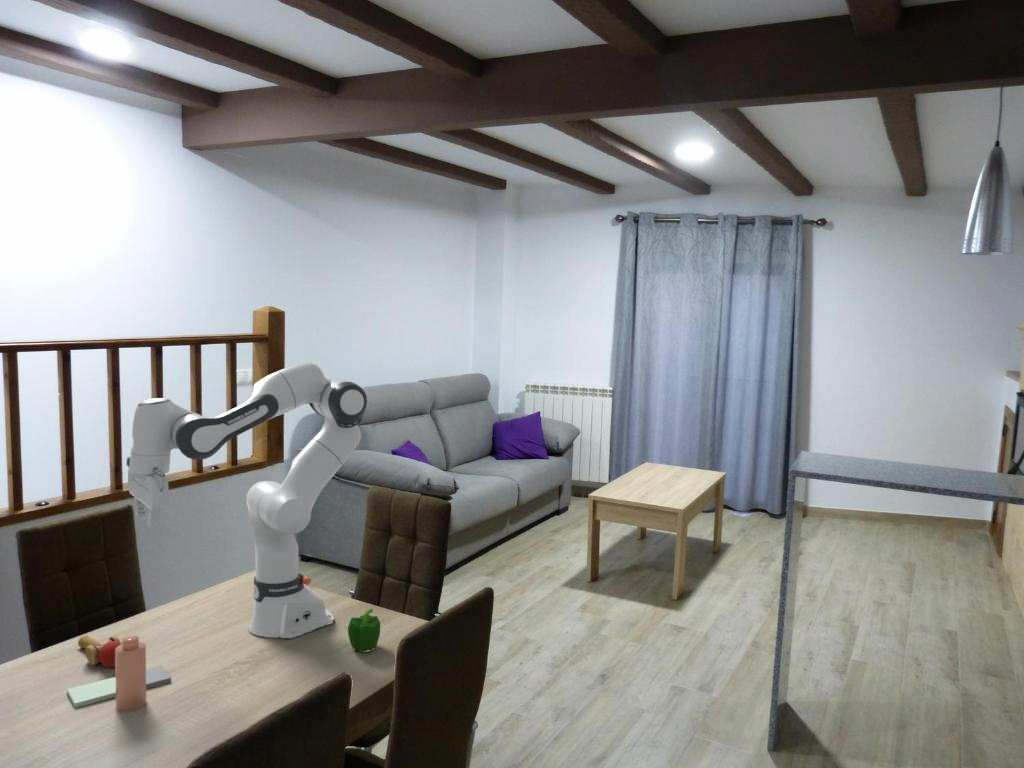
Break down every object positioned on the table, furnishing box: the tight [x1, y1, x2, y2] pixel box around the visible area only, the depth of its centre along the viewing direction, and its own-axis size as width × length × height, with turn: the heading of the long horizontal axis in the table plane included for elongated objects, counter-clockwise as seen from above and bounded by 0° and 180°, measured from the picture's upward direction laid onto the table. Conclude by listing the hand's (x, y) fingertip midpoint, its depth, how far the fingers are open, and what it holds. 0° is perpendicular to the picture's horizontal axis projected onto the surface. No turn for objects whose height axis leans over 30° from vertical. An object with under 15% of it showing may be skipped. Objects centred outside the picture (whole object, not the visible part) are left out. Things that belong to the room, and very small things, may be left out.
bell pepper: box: [347, 608, 381, 652], centre depth 205 cm, size 8×8×10 cm
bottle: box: [114, 635, 147, 712], centre depth 174 cm, size 6×6×15 cm
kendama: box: [77, 635, 122, 668], centre depth 195 cm, size 8×6×18 cm
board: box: [66, 664, 172, 709], centre depth 181 cm, size 20×8×1 cm, turn 130°
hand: (146, 520), depth 195 cm, fingers open, 8 cm apart
